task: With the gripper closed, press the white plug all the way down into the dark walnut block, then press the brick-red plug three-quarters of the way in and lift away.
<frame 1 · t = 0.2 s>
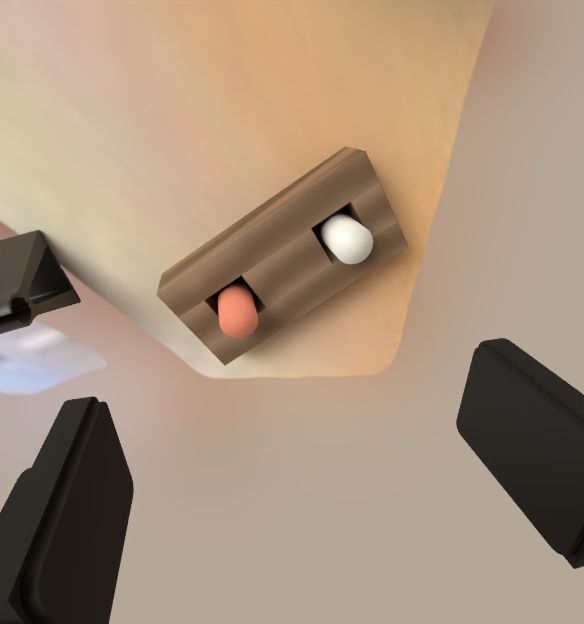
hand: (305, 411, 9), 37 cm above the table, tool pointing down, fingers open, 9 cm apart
white plug: (345, 237, 39), point 7 cm above the table, slide at 0.0 cm
phone stand: (35, 273, 42), on the table
red plug: (236, 309, 40), point 7 cm above the table, slide at 0.0 cm
plug block: (278, 252, 46), on the table
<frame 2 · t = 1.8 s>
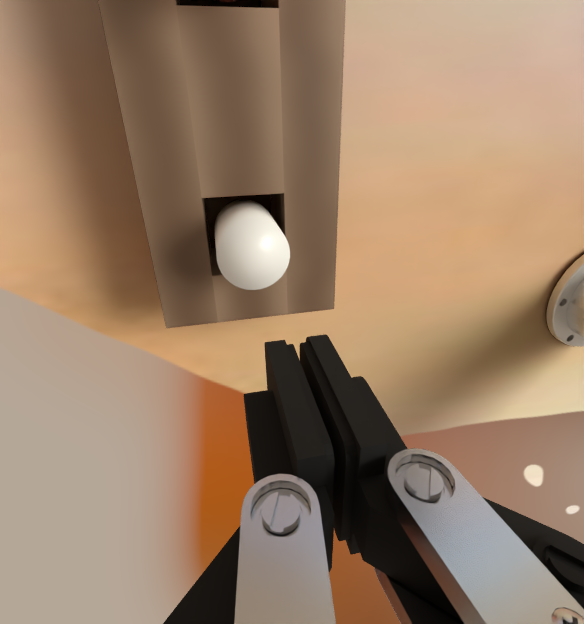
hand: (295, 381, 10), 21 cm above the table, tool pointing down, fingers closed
white plug: (248, 241, 22), point 7 cm above the table, slide at 0.0 cm
plug block: (230, 112, 25), on the table
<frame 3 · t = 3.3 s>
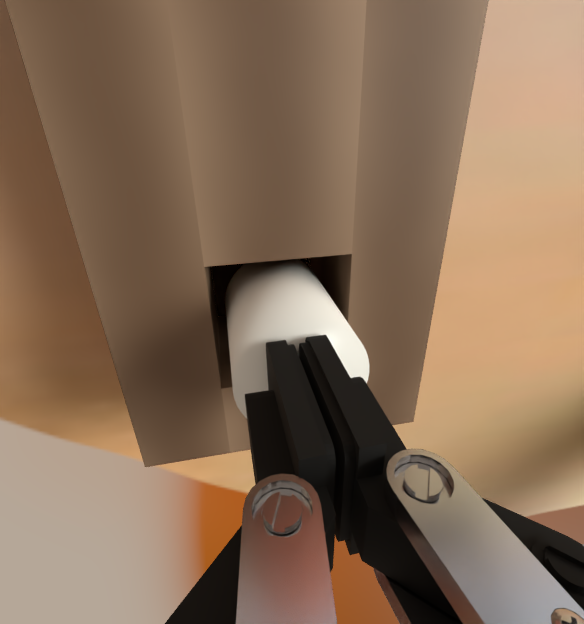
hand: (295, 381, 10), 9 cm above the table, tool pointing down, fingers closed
white plug: (285, 333, 13), point 7 cm above the table, slide at 0.7 cm, touching gripper
plug block: (252, 110, 15), on the table
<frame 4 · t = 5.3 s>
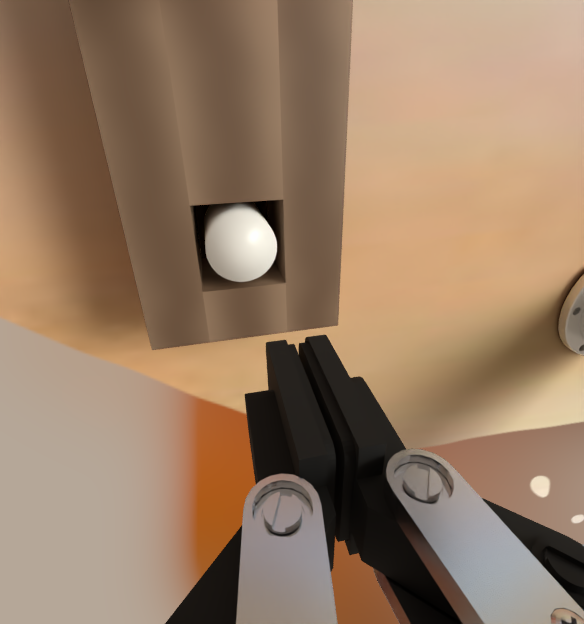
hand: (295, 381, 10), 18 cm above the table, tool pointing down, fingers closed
white plug: (237, 235, 23), point 4 cm above the table, slide at 3.7 cm
plug block: (222, 108, 23), on the table
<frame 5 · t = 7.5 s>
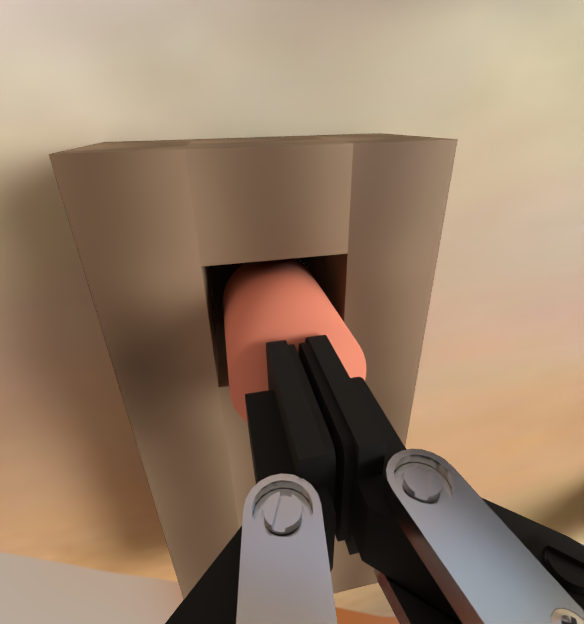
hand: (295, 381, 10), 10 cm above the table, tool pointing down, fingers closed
red plug: (283, 334, 13), point 7 cm above the table, slide at 0.5 cm, touching gripper
plug block: (266, 377, 22), on the table
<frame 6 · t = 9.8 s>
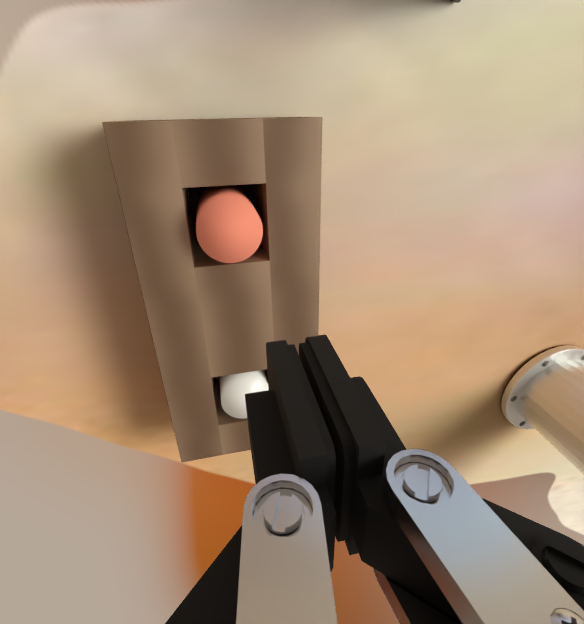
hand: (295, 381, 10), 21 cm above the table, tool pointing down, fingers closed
white plug: (242, 378, 32), point 4 cm above the table, slide at 3.7 cm
red plug: (227, 220, 25), point 4 cm above the table, slide at 2.8 cm
plug block: (232, 289, 32), on the table
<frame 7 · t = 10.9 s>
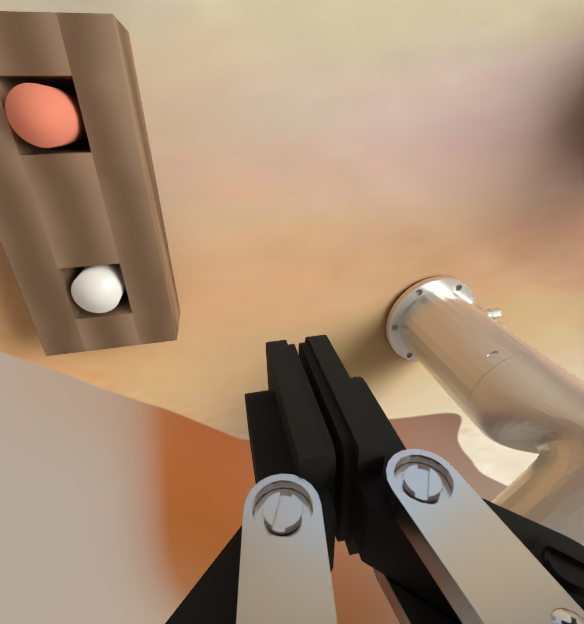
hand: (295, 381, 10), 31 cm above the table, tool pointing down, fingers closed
white plug: (103, 281, 35), point 4 cm above the table, slide at 3.7 cm
red plug: (52, 116, 28), point 4 cm above the table, slide at 2.8 cm
plug block: (93, 199, 35), on the table
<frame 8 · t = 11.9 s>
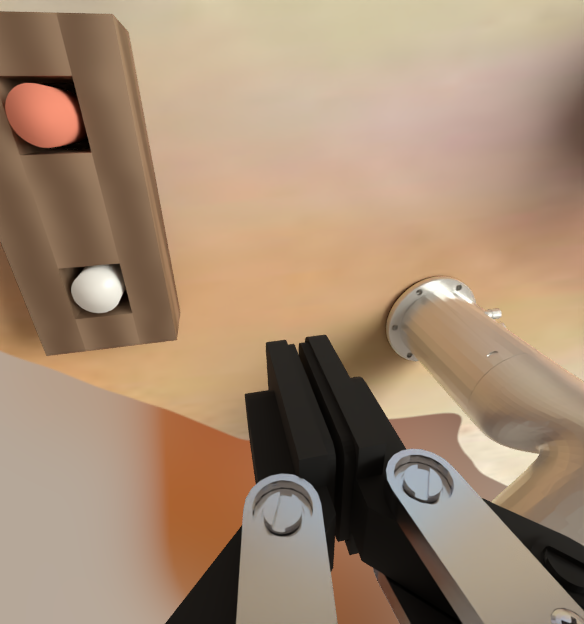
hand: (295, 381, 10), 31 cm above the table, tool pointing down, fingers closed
white plug: (103, 281, 35), point 4 cm above the table, slide at 3.7 cm
red plug: (53, 116, 28), point 4 cm above the table, slide at 2.8 cm
plug block: (93, 199, 35), on the table
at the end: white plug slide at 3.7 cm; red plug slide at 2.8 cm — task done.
